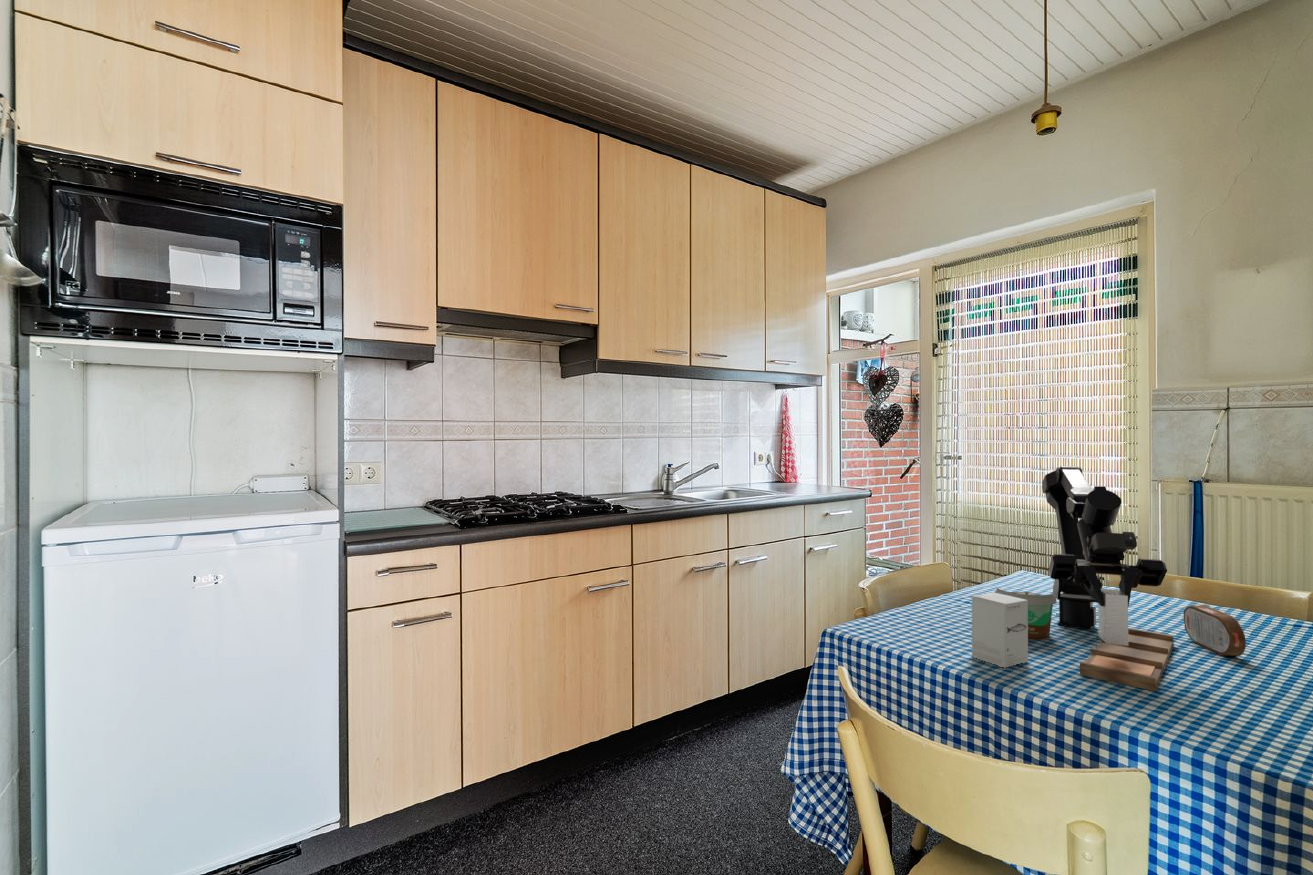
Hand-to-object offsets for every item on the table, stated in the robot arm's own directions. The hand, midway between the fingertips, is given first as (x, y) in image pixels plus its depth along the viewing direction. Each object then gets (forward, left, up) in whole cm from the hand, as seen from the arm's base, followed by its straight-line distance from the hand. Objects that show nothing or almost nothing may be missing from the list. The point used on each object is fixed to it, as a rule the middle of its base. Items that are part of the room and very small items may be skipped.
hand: (1114, 606), depth 117 cm
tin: (+13, +28, -12) cm, 33 cm away
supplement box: (-17, -11, -12) cm, 24 cm away
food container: (-17, +10, -12) cm, 23 cm away
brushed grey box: (-1, +1, -7) cm, 7 cm away
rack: (+1, +8, -12) cm, 14 cm away
